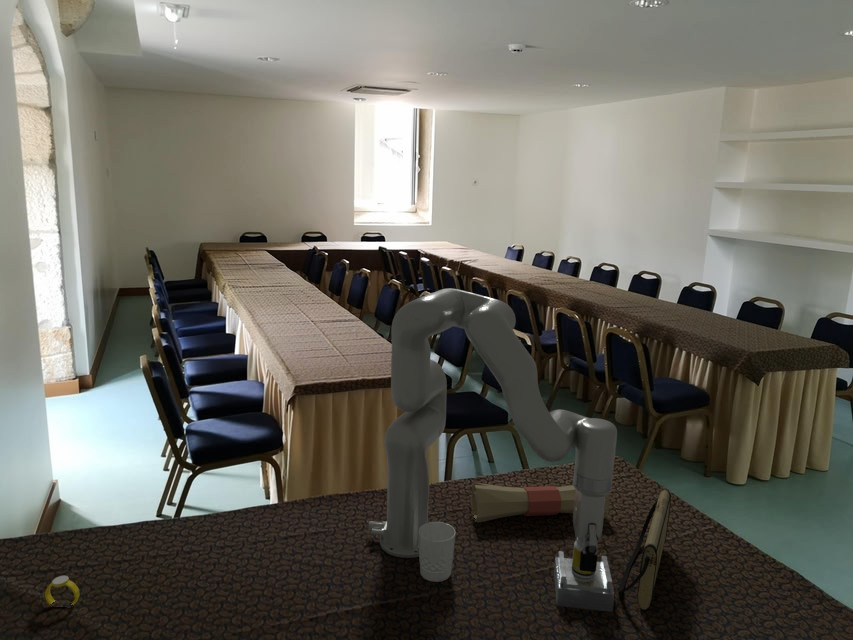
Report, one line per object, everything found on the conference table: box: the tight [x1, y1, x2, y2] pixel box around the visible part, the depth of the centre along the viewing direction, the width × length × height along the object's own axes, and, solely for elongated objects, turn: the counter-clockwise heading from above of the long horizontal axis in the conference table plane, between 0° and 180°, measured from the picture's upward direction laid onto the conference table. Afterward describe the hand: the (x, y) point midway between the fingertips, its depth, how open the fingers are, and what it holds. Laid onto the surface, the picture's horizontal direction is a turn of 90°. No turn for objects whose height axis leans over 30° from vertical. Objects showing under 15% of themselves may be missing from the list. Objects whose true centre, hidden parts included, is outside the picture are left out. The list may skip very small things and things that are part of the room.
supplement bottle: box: [571, 535, 595, 578], centre depth 134 cm, size 5×5×8 cm
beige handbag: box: [617, 488, 672, 611], centre depth 141 cm, size 30×7×15 cm, turn 154°
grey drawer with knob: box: [553, 550, 615, 613], centre depth 137 cm, size 11×14×6 cm
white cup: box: [418, 521, 457, 583], centre depth 140 cm, size 8×8×10 cm
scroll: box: [469, 482, 611, 523], centre depth 165 cm, size 11×34×10 cm, turn 97°
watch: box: [44, 575, 81, 606], centre depth 126 cm, size 6×3×6 cm, turn 91°
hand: (585, 557), depth 134 cm, fingers open, 8 cm apart
